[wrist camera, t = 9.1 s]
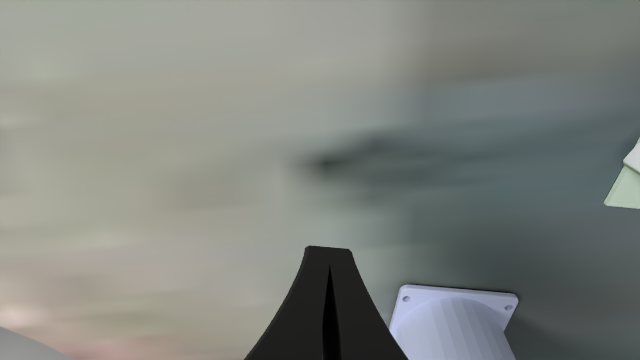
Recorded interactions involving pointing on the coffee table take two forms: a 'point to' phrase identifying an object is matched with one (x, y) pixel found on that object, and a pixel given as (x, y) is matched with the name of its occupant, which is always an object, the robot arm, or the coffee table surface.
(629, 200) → the mat
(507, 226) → the coffee table surface
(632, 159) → the syrup box
